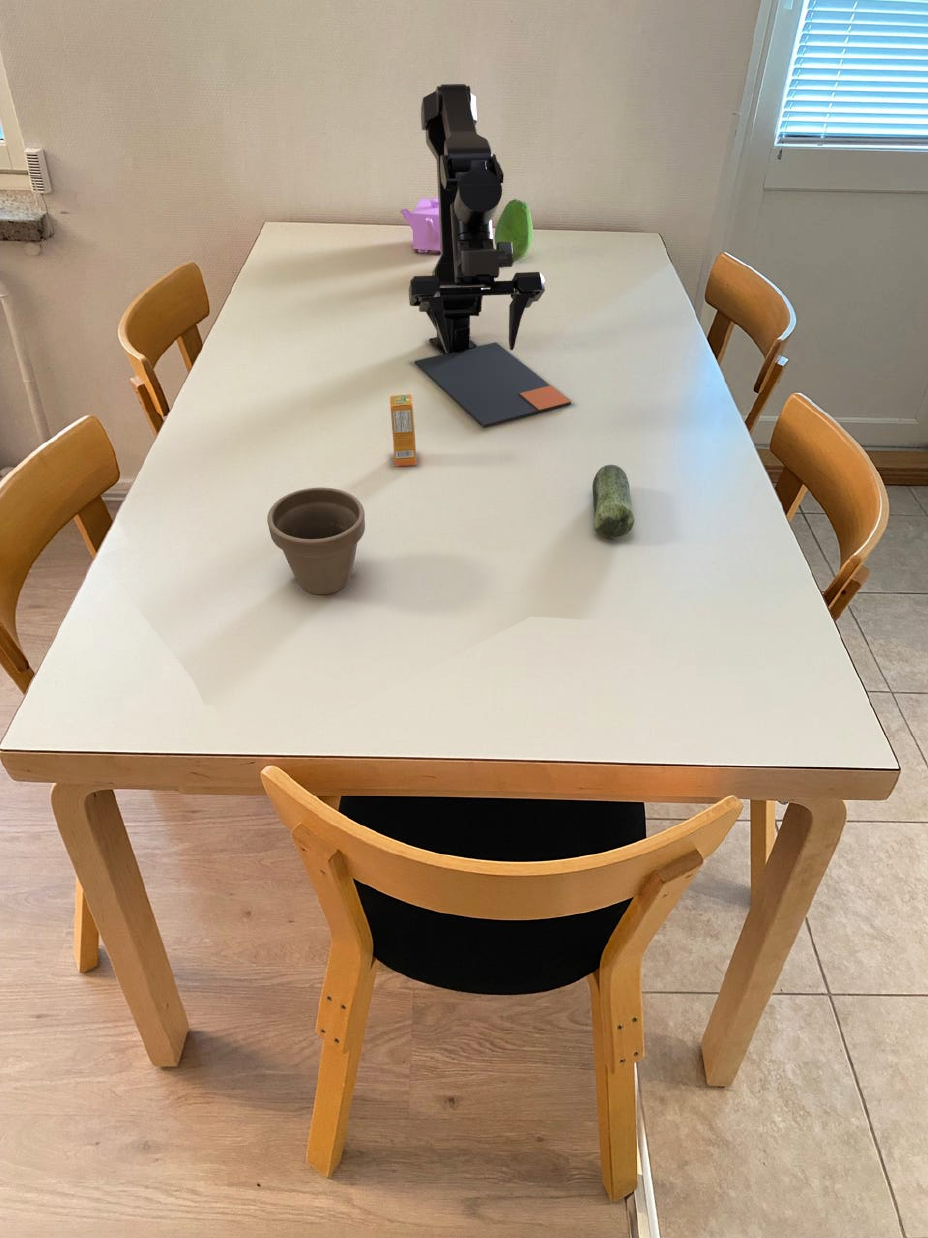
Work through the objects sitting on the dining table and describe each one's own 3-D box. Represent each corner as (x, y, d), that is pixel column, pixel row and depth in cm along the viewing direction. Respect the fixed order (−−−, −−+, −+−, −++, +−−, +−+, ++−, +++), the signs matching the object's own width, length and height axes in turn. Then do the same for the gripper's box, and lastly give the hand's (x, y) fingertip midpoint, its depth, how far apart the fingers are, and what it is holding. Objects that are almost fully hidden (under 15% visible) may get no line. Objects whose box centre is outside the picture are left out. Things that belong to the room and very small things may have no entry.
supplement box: (392, 455, 142) (389, 393, 136) (415, 454, 142) (414, 392, 136) (392, 467, 140) (390, 405, 133) (416, 466, 140) (415, 404, 133)
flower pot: (259, 572, 121) (248, 505, 114) (337, 540, 126) (331, 474, 120) (306, 621, 114) (298, 553, 107) (386, 585, 119) (383, 518, 113)
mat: (414, 363, 164) (414, 360, 164) (495, 344, 170) (496, 341, 170) (483, 427, 148) (483, 424, 148) (570, 404, 154) (571, 401, 154)
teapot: (410, 230, 212) (409, 183, 205) (469, 234, 210) (470, 187, 204) (393, 260, 198) (391, 211, 192) (456, 265, 197) (457, 216, 190)
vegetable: (632, 546, 126) (637, 514, 123) (592, 544, 126) (597, 512, 123) (625, 487, 137) (630, 456, 133) (589, 485, 137) (592, 454, 134)
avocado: (532, 266, 197) (536, 205, 189) (493, 265, 197) (495, 205, 189) (530, 251, 203) (534, 192, 195) (493, 251, 203) (495, 191, 195)
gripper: (409, 219, 127) (417, 340, 128) (549, 216, 129) (556, 334, 130) (405, 247, 138) (412, 358, 139) (533, 243, 140) (540, 352, 141)
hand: (479, 350), depth 137 cm, fingers open, 9 cm apart
